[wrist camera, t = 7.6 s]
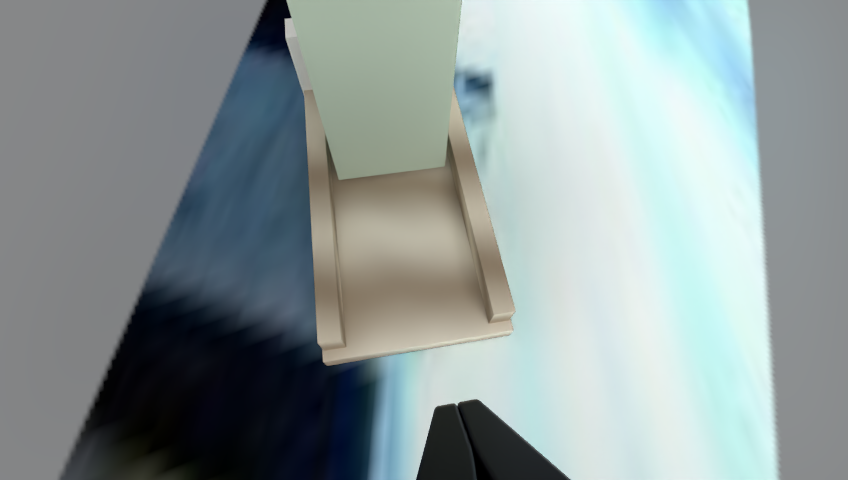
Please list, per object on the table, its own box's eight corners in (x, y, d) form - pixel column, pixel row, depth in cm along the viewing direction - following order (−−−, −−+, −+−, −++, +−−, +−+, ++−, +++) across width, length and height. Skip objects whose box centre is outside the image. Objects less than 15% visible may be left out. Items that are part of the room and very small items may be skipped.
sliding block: (444, 166, 23) (483, -209, 10) (338, 180, 23) (228, -198, 9) (429, 101, 26) (444, -278, 12) (332, 112, 25) (236, -272, 12)
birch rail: (509, 335, 20) (520, 321, 18) (327, 365, 20) (315, 355, 17) (444, 88, 28) (447, 57, 26) (310, 103, 27) (301, 72, 25)
